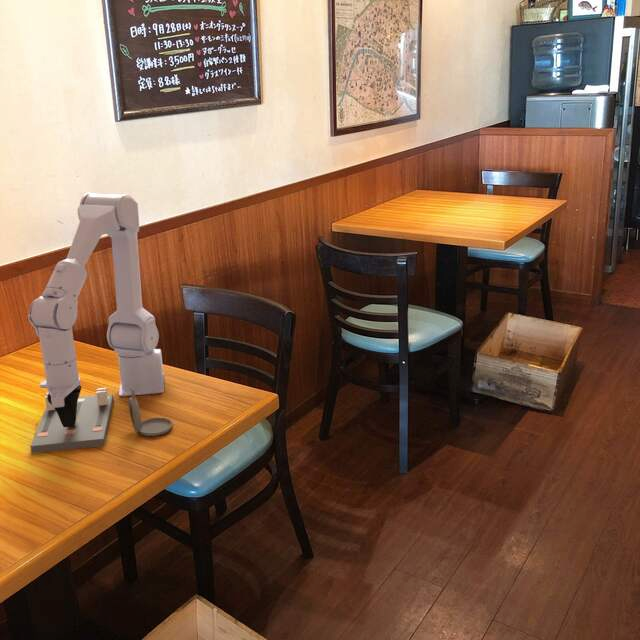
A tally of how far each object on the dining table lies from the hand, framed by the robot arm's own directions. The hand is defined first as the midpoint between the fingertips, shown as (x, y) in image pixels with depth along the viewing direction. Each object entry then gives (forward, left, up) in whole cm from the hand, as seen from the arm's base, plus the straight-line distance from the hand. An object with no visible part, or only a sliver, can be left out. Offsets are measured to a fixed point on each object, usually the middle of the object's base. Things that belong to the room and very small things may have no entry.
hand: (69, 425), depth 131 cm
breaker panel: (0, -6, -3) cm, 7 cm away
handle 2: (-5, -11, -1) cm, 12 cm away
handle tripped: (0, -3, -1) cm, 3 cm away
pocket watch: (-15, 0, -3) cm, 15 cm away
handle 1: (+5, -11, -1) cm, 12 cm away
